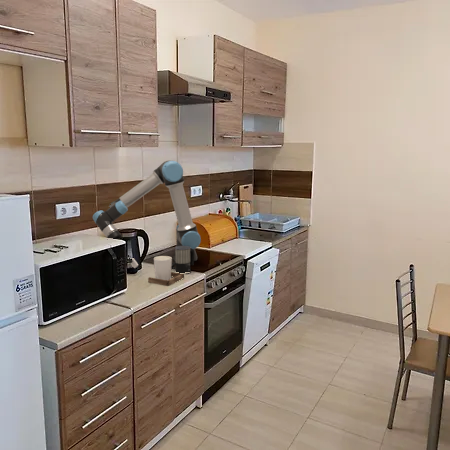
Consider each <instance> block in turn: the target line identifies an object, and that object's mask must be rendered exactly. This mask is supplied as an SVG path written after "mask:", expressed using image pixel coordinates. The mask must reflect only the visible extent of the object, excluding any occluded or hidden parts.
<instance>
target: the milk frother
mask: <svg viewBox="0 0 450 450" xmlns="http://www.w3.org/2000/svg"><path fill="white" fill-rule="evenodd" d="M174 254H175V260H176V261H174V262H172V266H171V270H172V269H175V270H174V272H175V271H176V272H179V273H185V272H190V273H192V271H191V266H194V263H195V261H194V250H193V249H192V248H191V247H189V246H177V247H176V246H175V247H174Z"/></svg>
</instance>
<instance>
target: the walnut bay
mask: <svg viewBox="0 0 450 450" xmlns="http://www.w3.org/2000/svg"><path fill="white" fill-rule="evenodd" d="M171 276H173V277H174V278H173V277H171V279H170V280H163V279H157V278H155V277H150V276H149V277H147V280H148V281H147V283H150V284H155V285H161V286H166V287H169V286H171V285H174V284H175V282H176V283H178V282H180V281H181V279H182V278H184V279H185V274H180V273H175V271H174V272H173V271H171ZM179 280H180V281H179ZM182 280H183V279H182ZM177 281H178V282H177Z"/></svg>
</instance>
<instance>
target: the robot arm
mask: <svg viewBox="0 0 450 450" xmlns="http://www.w3.org/2000/svg"><path fill="white" fill-rule="evenodd" d="M184 183H185V177H184V169H183V167H182V165H181V164H180V163H179V162H178V161H176V160H166V161H163V162H162V163H161V164H160V165H158V167H157V168H155V169H154V170H153V171H152V173H151V174H150V175H149V176H147V177H145V179H143V180H142V181H141V182H139V183H137V185H135V186H134V187H132V188H130V190H128V191H127V192H125V193H124V194H123V195H121V196H119V198H117V199H116V200H114V201H112V202H111V203H110V204H111V205H110V204H109V207H110V208H108V209H107V210H105V211H104V210H103V209H102V210H97V211H96V212H94V214H93V215H92V221H94V223H95V225H96V226H97V228H99V230H100V231H101V233H102V234H103V235H104V236H105V238H106V239H107V238H113V239H120V237H121V238H122V234H121V232H120V231H119V230H118V228H117V227H116V226H115V225H114V222H115V221H116V220H117V219H119V218H121V217H122V216H123V215H125V214H126V213H127V212H128V210H129V209H128V208H129V207H130V206H132V205H133V204H135V203H136V202H137V201H138V200H140V199H141V198H142V197H144V196H145V195H147V194H149V192H151V191H152V190H154V189H155V188H156V187H158V186H159V185H160V184H161V185H163V184H164V185H165V187H166V188H167V189H168V191H169V193H170V194H169V195H170V198H171V201H172V205H173V206H172V207H173V209H174V213H175V218H176V220H177V225H176V229H175V232H176V236H175V240H176V243H175V244H176V246H175V247H177V246H189V247H191V248H192V249H193V250H194V262H197V260H198V255H197V252H196V249H197V248H198V247H199V246H200V244H201V243H202V241H201V240H202V239H201V238H202V237H201V235H200V233H199V231H198V228H197V224H196V223H194V222H193V219H192V214H191V211H190V207H189V203H188V199H187V196H186V192H185V188H184ZM128 257H129V255H128ZM131 259H132V260H131ZM131 259H130V258H129V261H128V263H130V264H131V263H132V265H131V266H132V267H133V268H134V269H136V268H137V267H138V266H139V264H138V262H137V260H136V258H135V257H134V258H131ZM173 261H174V262H176V260H175V253H174V255H173Z"/></svg>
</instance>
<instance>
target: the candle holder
mask: <svg viewBox="0 0 450 450" xmlns="http://www.w3.org/2000/svg"><path fill="white" fill-rule="evenodd" d="M172 263H173V258H172V256H168V255H159V256H158V255H157V256H154V258H153V266H154V267H153V268H154V278H157V279H163V280H170V279H172V277H171V272H172V269H171V266H172Z"/></svg>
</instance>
